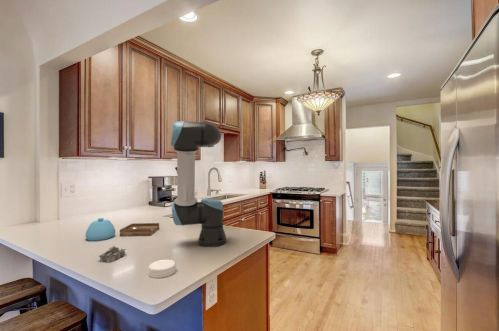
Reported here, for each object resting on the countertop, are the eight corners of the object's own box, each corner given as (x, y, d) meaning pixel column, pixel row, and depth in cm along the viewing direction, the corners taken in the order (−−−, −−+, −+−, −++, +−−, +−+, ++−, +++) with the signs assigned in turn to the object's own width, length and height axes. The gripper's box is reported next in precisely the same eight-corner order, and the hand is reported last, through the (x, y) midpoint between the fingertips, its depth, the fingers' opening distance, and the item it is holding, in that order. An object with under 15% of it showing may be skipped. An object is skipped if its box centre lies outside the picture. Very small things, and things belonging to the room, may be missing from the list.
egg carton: (114, 253, 118) (114, 245, 118) (128, 255, 116) (128, 246, 116) (96, 262, 107) (96, 252, 108) (110, 263, 106) (110, 253, 106)
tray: (150, 235, 147) (150, 229, 147) (119, 236, 146) (119, 229, 147) (159, 229, 163) (159, 223, 163) (131, 229, 162) (131, 223, 163)
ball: (132, 234, 153) (137, 231, 153) (129, 229, 153) (133, 226, 153) (135, 232, 157) (139, 229, 157) (131, 228, 157) (136, 225, 157)
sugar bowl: (120, 234, 151) (120, 215, 151) (103, 242, 136) (103, 221, 136) (98, 234, 152) (97, 215, 152) (78, 241, 137) (78, 220, 138)
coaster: (164, 280, 89) (163, 270, 89) (142, 276, 93) (142, 267, 93) (181, 269, 99) (181, 260, 99) (161, 266, 102) (161, 257, 102)
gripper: (195, 157, 169) (195, 191, 169) (176, 157, 168) (176, 191, 168) (193, 156, 161) (193, 192, 161) (173, 156, 161) (173, 192, 161)
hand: (185, 191), depth 165 cm, fingers closed
